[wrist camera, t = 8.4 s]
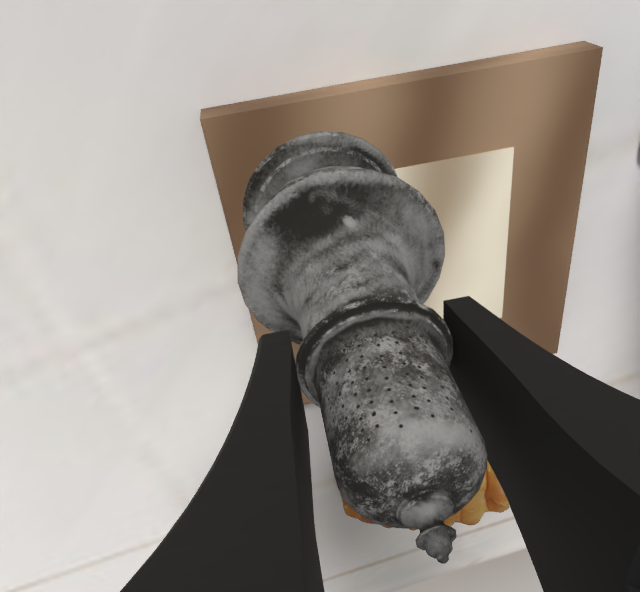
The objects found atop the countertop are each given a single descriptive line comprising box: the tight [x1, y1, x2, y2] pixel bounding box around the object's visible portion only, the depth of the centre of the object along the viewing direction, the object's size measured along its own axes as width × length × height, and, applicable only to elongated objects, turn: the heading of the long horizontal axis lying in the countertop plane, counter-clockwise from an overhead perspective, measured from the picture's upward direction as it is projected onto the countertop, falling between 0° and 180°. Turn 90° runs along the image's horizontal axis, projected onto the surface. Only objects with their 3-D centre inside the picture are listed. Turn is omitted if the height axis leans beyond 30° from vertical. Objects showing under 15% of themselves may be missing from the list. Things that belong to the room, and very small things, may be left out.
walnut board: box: [200, 41, 603, 405], centre depth 23 cm, size 14×14×1 cm
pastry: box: [340, 460, 509, 530], centre depth 31 cm, size 9×7×4 cm
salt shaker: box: [238, 131, 487, 563], centre depth 14 cm, size 6×6×12 cm
